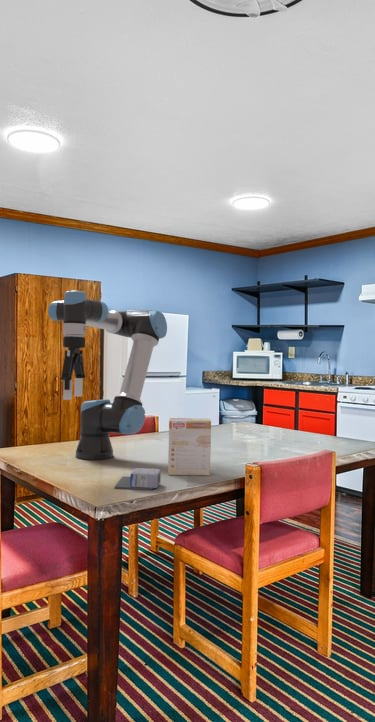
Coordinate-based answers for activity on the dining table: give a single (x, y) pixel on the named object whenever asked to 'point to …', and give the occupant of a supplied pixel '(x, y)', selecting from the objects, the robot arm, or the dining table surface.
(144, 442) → the dining table surface
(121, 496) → the dining table surface
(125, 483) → the mat
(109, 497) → the dining table surface
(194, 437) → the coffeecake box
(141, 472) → the medicine box
